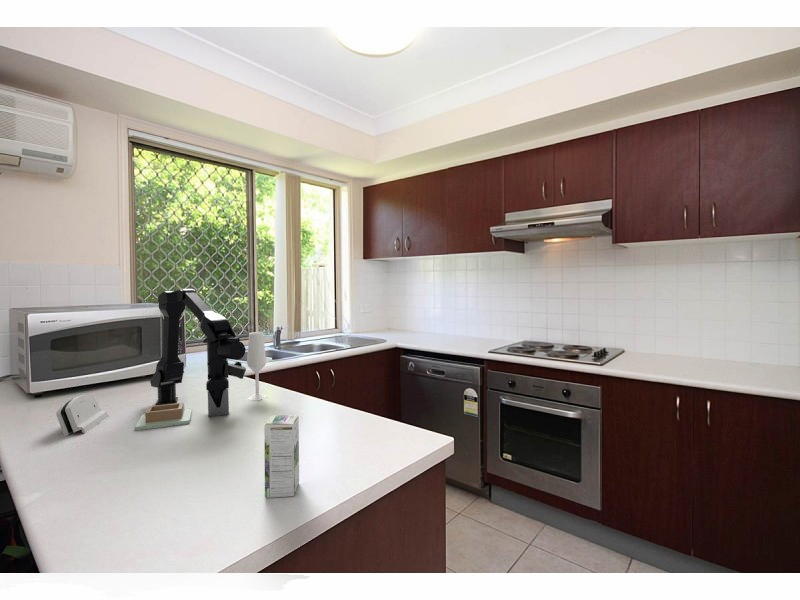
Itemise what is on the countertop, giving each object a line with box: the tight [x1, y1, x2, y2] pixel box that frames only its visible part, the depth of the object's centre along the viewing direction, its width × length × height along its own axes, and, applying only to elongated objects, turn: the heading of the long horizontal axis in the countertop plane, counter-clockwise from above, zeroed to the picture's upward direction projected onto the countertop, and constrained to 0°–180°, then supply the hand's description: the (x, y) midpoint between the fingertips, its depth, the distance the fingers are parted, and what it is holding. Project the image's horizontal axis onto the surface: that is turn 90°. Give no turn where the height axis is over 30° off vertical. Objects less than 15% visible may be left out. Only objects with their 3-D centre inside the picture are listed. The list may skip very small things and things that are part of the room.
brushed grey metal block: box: [207, 388, 230, 417], centre depth 133 cm, size 4×6×8 cm, turn 113°
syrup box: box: [263, 414, 300, 499], centre depth 83 cm, size 6×6×14 cm
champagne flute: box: [246, 331, 267, 401], centre depth 152 cm, size 7×7×24 cm
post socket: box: [134, 402, 193, 431], centre depth 127 cm, size 13×14×4 cm
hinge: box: [55, 394, 109, 436], centre depth 123 cm, size 17×5×10 cm, turn 15°
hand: (218, 405), depth 133 cm, fingers closed on brushed grey metal block, 4 cm apart
